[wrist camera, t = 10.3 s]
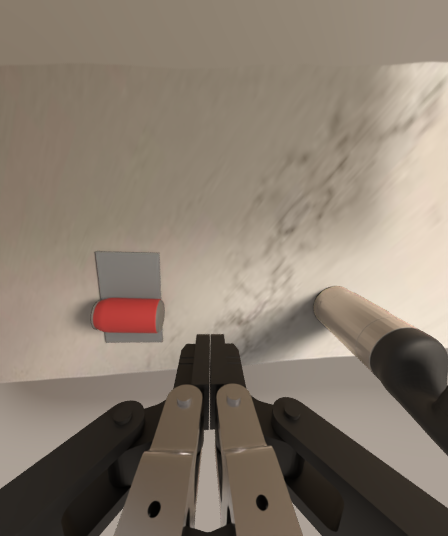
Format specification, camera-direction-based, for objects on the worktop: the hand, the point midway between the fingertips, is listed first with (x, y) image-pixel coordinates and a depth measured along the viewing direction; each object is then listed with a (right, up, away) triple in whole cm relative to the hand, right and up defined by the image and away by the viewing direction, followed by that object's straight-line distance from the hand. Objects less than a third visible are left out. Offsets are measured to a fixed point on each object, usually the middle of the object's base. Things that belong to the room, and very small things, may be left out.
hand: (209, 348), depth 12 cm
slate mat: (-18, -2, +32) cm, 37 cm away
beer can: (-11, -5, +30) cm, 32 cm away
